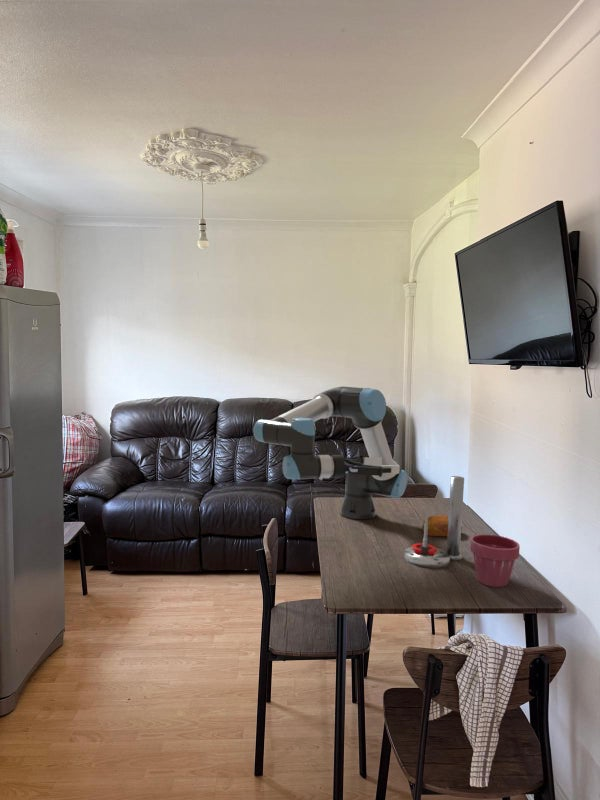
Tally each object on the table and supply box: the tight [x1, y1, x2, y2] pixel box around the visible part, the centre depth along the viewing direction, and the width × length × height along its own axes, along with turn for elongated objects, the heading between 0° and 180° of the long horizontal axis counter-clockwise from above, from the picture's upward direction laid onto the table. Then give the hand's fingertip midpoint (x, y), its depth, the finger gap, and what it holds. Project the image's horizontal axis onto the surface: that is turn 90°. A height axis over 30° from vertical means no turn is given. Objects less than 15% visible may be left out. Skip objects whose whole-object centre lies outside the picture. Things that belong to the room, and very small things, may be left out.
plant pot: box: [469, 533, 521, 588], centre depth 175 cm, size 14×14×13 cm
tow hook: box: [411, 516, 437, 555], centre depth 194 cm, size 8×13×9 cm
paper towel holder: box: [404, 475, 465, 569], centre depth 192 cm, size 15×21×28 cm
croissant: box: [421, 514, 463, 537], centre depth 222 cm, size 14×16×8 cm
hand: (389, 465), depth 189 cm, fingers open, 13 cm apart
